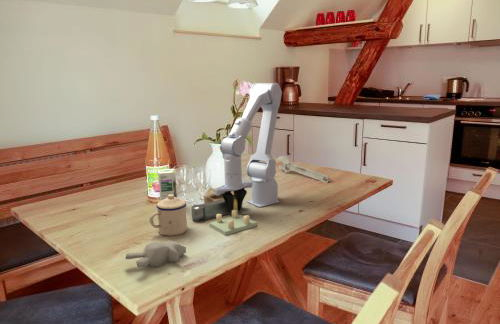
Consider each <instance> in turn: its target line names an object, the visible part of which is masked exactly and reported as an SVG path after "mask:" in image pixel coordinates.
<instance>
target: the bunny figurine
mask: <svg viewBox="0 0 500 324" xmlns="http://www.w3.org/2000/svg"><path fill="white" fill-rule="evenodd" d="M186 253H187V247H186V246H184V245H182V244H180V243H178V242H175V241H174V240H168V241H167V242H156V241H155V242H151V243H147V244H146V245H145V247H144V250H143V251H142V252H128V253H126V255H125V260H133V259H138V260H136V262H135V263H136V266H137V268H142V269H143V268H145V267H146V266H148V265H151V266H152V267H154V268H157V267H161V266H164V265H165V264H167V263H168V262H178V261H180V259H181V258H182V257H183V255H184V254H186ZM139 258H140V259H139Z"/></svg>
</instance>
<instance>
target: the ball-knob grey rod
mask: <svg viewBox="0 0 500 324" xmlns="http://www.w3.org/2000/svg"><path fill="white" fill-rule="evenodd" d="M243 205H244V204H243V203H242V206H241V210H240V211H238V213H239V212H241V211H243ZM216 214H222V216H225V215H228V214H231V213H230V212H228V209H227V206H226V203H225V201H224V199H221V200H217V201H213V202H208V203H204V202H203V203H200V204H195V205H191V220H192V222H193V223H202V222H205V221H206V220H210V219H213V218H216Z"/></svg>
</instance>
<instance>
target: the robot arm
mask: <svg viewBox="0 0 500 324" xmlns="http://www.w3.org/2000/svg"><path fill="white" fill-rule="evenodd" d="M248 93H249V94H248V95H249V99H248V101H247V103H246V107H245V108H244V111H243V113H242V116H241V117H239V118H237V119H236V120H235V121H234V124H233V126H232V127H231V129H230V132H229V133H228V135H227V136H226V137H224V138H223V139H222V140H221V143H220V146H219V150H220V152H221V154H222V159H223V160H224V161H223V162H224V185H221V186H219V187H215V188H213V194H215V195H217V196H218V195H220V194H221V195H222V197H223V199H224V201H225V203H226V206H227V209H228V212H230V213H229V214H231V213H232V210H233V201H234V197H237V198H238V211H239V212H241V211H240V210H241V206H242V204H243V201H244V200H245V197H246V195H247V194H248V191H247V189H251V199H248V200H246V203H249V204H251V205H253V206H255V207H258V208H262V207H263V208H264V207H266V206H269V205H273V204H277V203H279V202H280V200H279V198H278V197H279V195H278V193H279V191H278V190H279V189H278V182H277V180H276V179H275V176H276V173H277V168H276V164H277V163H276V162H277V160H275V158H274V157H273V156H272V155H271V154H272V149H273V143H274V135H275V131H276V124H277V118H278V113H279V108H280V105H281V99H282V94H283V91H282V89H281V86H280V85H279V83H278V82H273V83H272V82H270V83H269V82H265V83H264V82H254V83H253V84H252V85H251V87H250V89H249V90H248ZM260 108H261V109H262V116H261V122H260V128H259V133H258V139H257V140H258V141H257V144H256V145H257V147H256V151H255V153H253V154H252V155H251V156H250V157H249V161H248V163H247V164H246V165H247V166H246V169H245V170H246V175H247V176H248V177H249V180H246V181H243V179H242V178H243V177H242V174H243V172H242V171H243V170H242V154H244V152H245V150H246V143H247V140H246V139H247V137H248V135H249V133H250V131H251V129H252V127H253V125H252V120H253V119H254V118H255V116H256V115H257V113H258V111H259V109H260ZM232 192H233V193H232Z"/></svg>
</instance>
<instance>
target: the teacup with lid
mask: <svg viewBox="0 0 500 324" xmlns="http://www.w3.org/2000/svg"><path fill="white" fill-rule="evenodd" d="M155 208H157V209H156V210H157V211H156V212H153V213H152V214H151V215H150V216H149V223H150V225H151V226H152V227H153V228H156V229H158V231H159V233H160V234H161V235H163V236H178V235H181V234H184V233H185V232H186V231H187V229H188V225H187V224H188V222H187V202H186V200H184V199H182V198H179V197H177V198H176V197H174V195H173V194H170V195H168V198H165V199H164V200H161V201H160V200H159V201H158V202H157V204H156V207H155ZM156 216H157V220H158V224H155V223H154V218H155V217H156Z"/></svg>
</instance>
